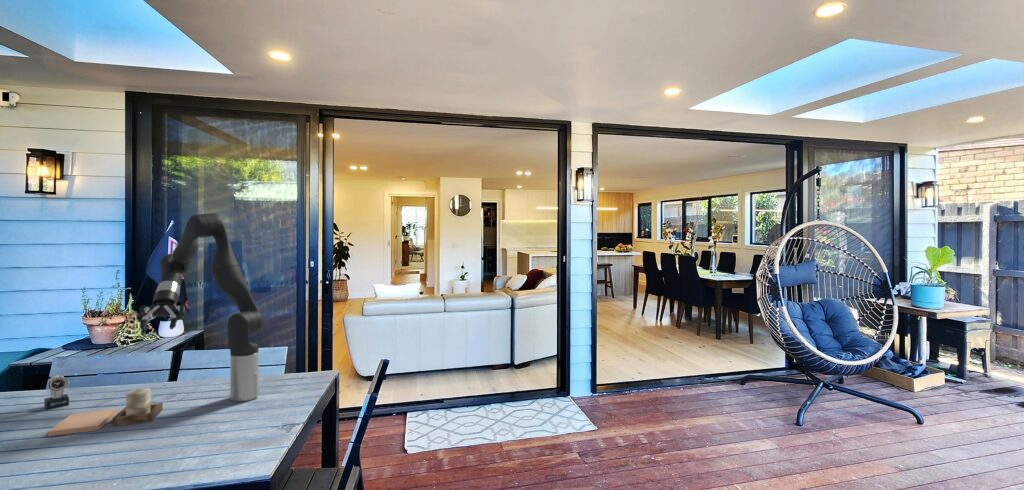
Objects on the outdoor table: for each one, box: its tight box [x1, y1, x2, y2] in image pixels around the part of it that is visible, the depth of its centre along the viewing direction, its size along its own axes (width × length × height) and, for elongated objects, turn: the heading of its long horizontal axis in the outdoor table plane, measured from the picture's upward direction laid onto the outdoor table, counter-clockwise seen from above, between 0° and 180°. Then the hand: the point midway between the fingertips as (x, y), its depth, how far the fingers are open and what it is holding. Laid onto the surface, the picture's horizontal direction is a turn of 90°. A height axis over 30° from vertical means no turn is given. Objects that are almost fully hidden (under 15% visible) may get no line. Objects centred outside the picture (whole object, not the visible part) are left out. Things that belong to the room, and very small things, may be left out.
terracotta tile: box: [47, 408, 118, 437], centre depth 142 cm, size 12×14×2 cm
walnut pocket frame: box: [111, 402, 163, 427], centre depth 148 cm, size 10×10×2 cm
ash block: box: [125, 387, 151, 416], centre depth 148 cm, size 5×5×9 cm
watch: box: [43, 374, 70, 411], centre depth 156 cm, size 6×8×11 cm
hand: (157, 328), depth 164 cm, fingers open, 8 cm apart
